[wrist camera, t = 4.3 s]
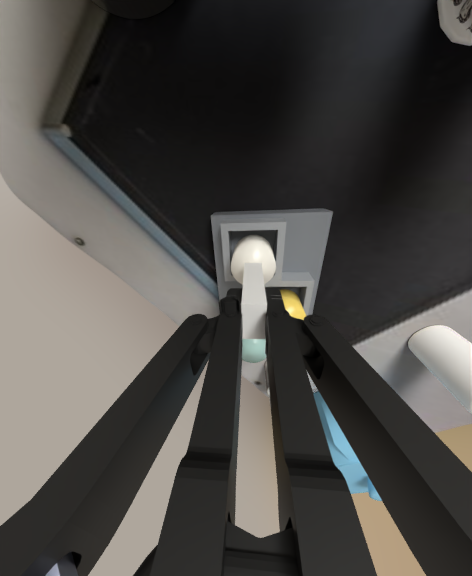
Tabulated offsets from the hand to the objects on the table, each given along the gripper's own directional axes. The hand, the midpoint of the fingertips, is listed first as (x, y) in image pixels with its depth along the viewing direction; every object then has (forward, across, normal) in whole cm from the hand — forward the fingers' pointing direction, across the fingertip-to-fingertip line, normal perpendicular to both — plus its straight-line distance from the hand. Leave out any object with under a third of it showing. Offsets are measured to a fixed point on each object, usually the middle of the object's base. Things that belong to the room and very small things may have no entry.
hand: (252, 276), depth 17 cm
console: (+11, +2, -7) cm, 13 cm away
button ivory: (+5, 0, 0) cm, 5 cm away
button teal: (+7, 0, -14) cm, 16 cm away
